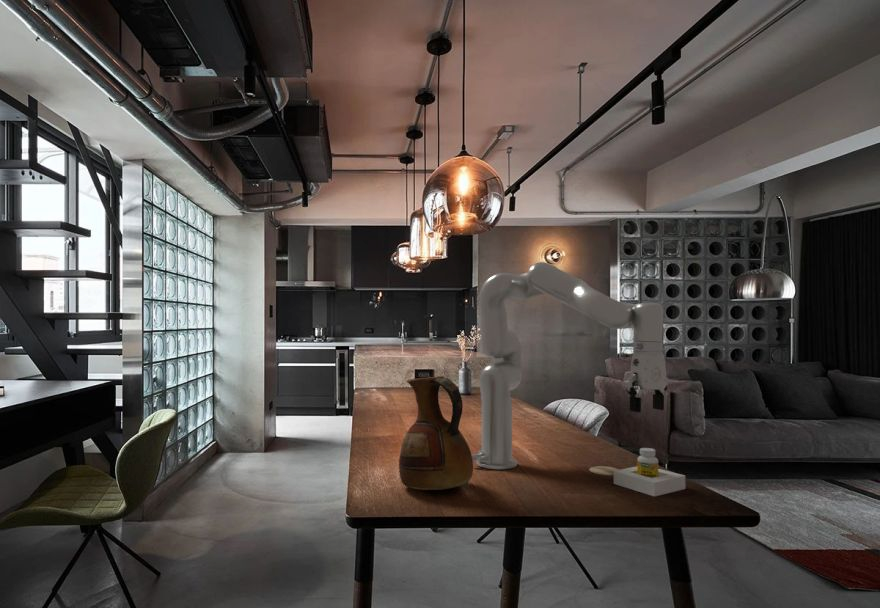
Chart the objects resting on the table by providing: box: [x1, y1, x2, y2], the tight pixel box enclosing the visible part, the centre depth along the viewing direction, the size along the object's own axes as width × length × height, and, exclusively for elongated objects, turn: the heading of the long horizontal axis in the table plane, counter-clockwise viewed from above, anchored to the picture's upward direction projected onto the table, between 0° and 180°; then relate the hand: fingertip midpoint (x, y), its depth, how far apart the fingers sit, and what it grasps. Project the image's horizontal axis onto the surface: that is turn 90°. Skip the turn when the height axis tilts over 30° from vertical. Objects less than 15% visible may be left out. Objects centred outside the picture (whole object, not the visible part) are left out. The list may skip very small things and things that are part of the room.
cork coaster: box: [589, 465, 620, 476], centre depth 162 cm, size 9×9×1 cm
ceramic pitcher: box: [398, 375, 474, 491], centre depth 144 cm, size 20×20×30 cm
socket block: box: [613, 465, 686, 497], centre depth 147 cm, size 13×13×4 cm
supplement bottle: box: [636, 447, 659, 478], centre depth 147 cm, size 5×5×10 cm
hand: (646, 410), depth 148 cm, fingers open, 9 cm apart
